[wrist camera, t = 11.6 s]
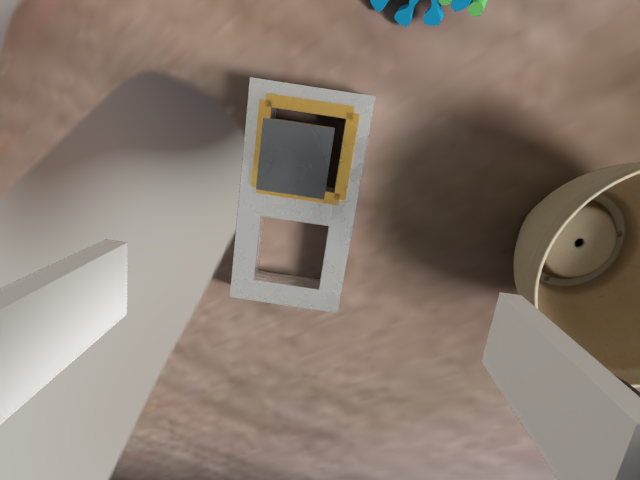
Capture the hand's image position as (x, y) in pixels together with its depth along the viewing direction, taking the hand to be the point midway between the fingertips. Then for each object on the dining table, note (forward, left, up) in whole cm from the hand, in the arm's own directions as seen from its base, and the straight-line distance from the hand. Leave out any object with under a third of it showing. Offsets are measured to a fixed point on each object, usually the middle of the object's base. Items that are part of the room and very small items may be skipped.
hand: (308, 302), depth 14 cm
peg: (+4, +2, -24) cm, 24 cm away
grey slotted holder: (-1, +2, -23) cm, 24 cm away
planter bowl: (-1, -23, -24) cm, 33 cm away
